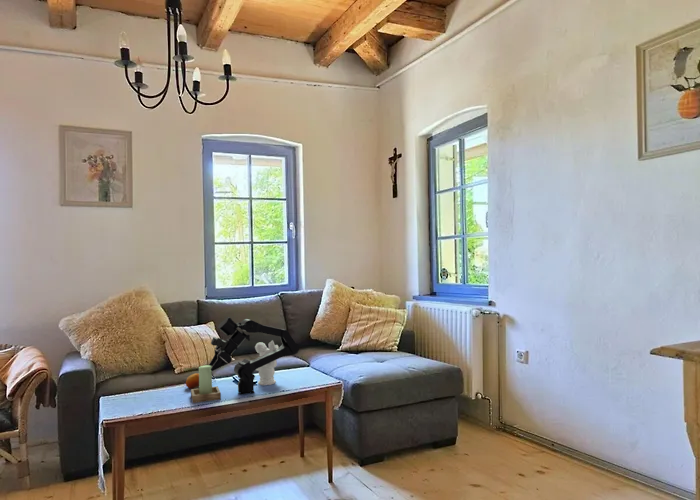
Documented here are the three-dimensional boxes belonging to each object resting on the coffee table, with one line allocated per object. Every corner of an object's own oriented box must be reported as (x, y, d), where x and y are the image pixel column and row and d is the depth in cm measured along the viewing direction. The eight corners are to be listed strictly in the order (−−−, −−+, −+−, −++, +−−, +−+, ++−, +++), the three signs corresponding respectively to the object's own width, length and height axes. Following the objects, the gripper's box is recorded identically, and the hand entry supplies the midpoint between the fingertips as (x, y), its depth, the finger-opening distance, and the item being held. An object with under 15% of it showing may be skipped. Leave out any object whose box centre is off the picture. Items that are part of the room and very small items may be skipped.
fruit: (201, 387, 246) (193, 372, 247) (188, 395, 247) (180, 380, 248) (209, 382, 254) (201, 368, 254) (197, 390, 255) (189, 376, 256)
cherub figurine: (253, 383, 256) (251, 339, 256) (272, 378, 266) (270, 335, 266) (269, 386, 248) (267, 341, 248) (288, 381, 258) (286, 337, 258)
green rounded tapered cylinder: (211, 393, 237) (210, 364, 237) (212, 396, 231) (212, 367, 231) (198, 394, 235) (198, 366, 235) (199, 397, 229) (199, 368, 229)
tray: (217, 392, 241) (217, 386, 241) (220, 399, 229) (220, 392, 229) (191, 395, 236) (190, 389, 236) (192, 403, 225) (192, 396, 225)
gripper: (219, 327, 244) (195, 353, 241) (223, 333, 227) (198, 361, 223) (236, 342, 247) (213, 368, 243) (242, 349, 230) (217, 377, 226)
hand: (210, 368), depth 234 cm, fingers open, 9 cm apart
